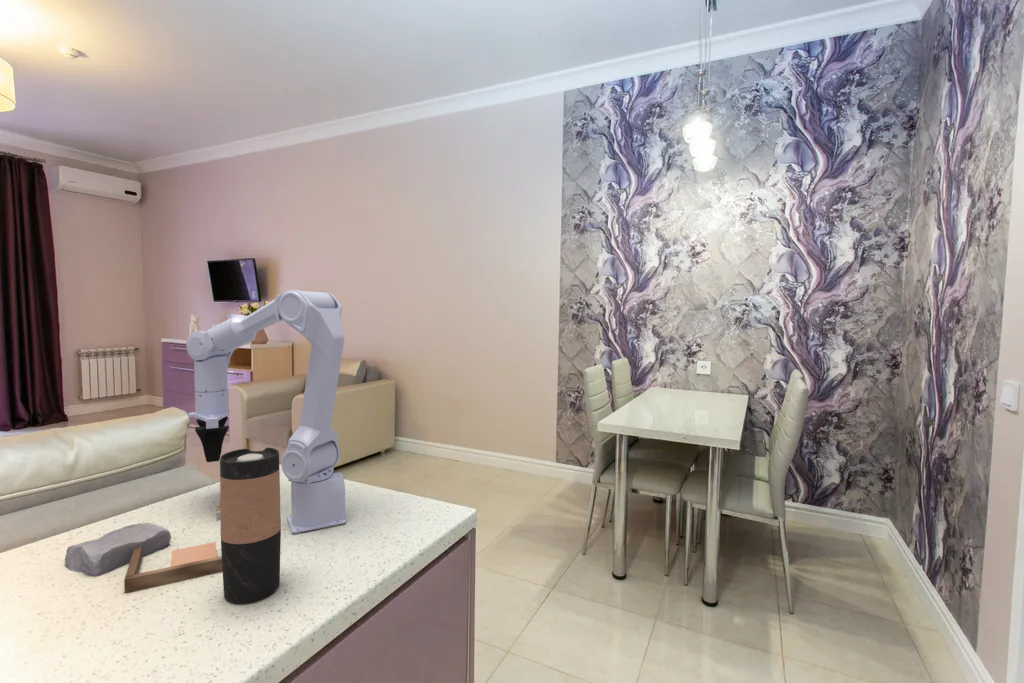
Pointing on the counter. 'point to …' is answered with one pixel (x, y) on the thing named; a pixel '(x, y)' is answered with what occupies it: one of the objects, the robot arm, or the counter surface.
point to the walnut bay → (166, 572)
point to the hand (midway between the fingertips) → (212, 456)
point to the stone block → (116, 548)
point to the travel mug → (250, 524)
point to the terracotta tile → (193, 554)
